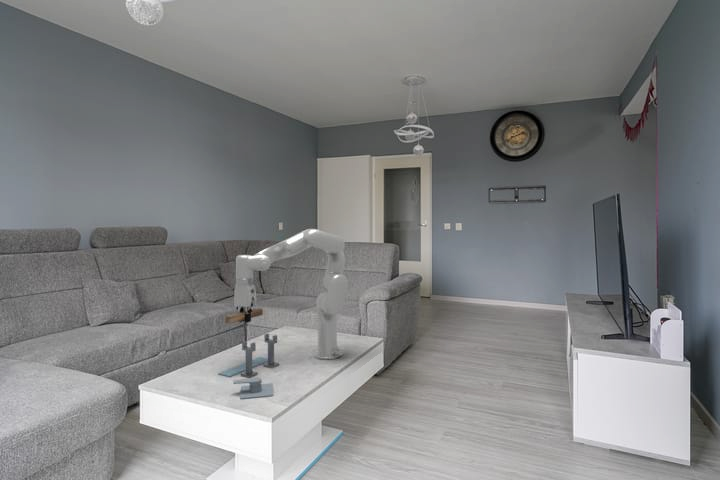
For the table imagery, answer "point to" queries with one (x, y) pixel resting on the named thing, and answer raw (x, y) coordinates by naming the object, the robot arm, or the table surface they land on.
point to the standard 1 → (248, 359)
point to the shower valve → (254, 388)
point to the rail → (243, 315)
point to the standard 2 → (270, 351)
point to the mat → (243, 367)
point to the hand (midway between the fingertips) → (244, 321)
